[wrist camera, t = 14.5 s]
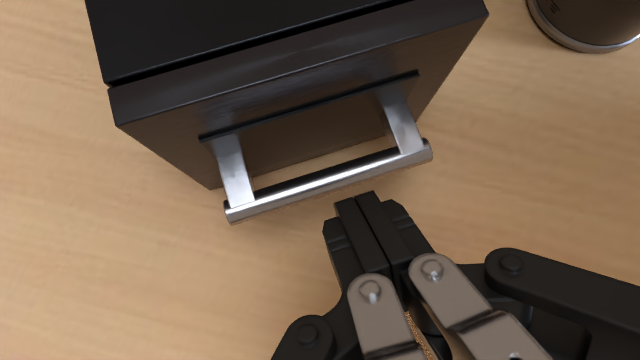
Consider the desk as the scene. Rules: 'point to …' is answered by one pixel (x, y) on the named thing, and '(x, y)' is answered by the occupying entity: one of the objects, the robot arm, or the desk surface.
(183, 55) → the oven
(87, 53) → the desk surface
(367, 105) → the oven door
